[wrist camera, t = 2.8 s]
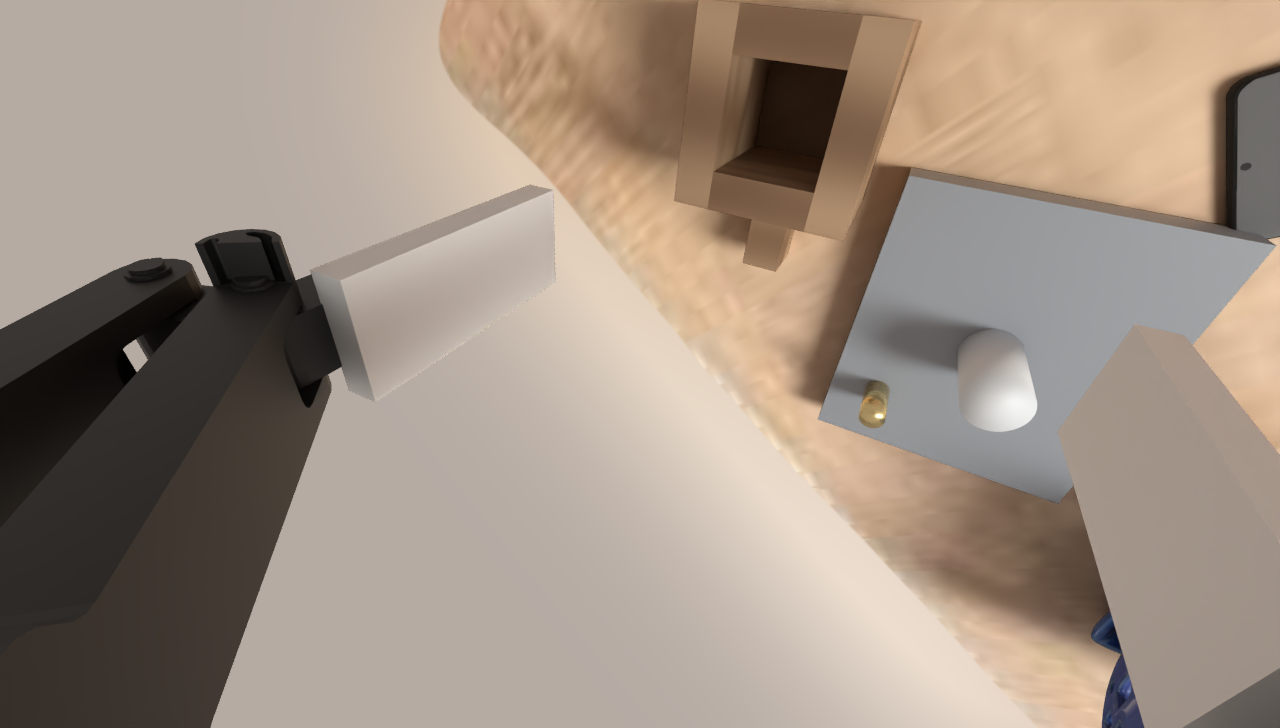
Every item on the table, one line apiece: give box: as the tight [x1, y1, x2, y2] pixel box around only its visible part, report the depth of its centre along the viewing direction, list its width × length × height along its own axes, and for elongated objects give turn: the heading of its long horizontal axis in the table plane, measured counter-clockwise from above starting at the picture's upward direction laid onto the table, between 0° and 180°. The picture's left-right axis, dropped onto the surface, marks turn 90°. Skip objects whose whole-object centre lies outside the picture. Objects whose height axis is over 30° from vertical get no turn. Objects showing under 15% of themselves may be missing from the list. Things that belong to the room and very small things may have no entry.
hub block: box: [674, 0, 922, 272], centre depth 26 cm, size 12×8×7 cm
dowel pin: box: [859, 381, 890, 428], centre depth 31 cm, size 1×1×3 cm
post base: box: [818, 167, 1276, 504], centre depth 27 cm, size 16×14×7 cm
